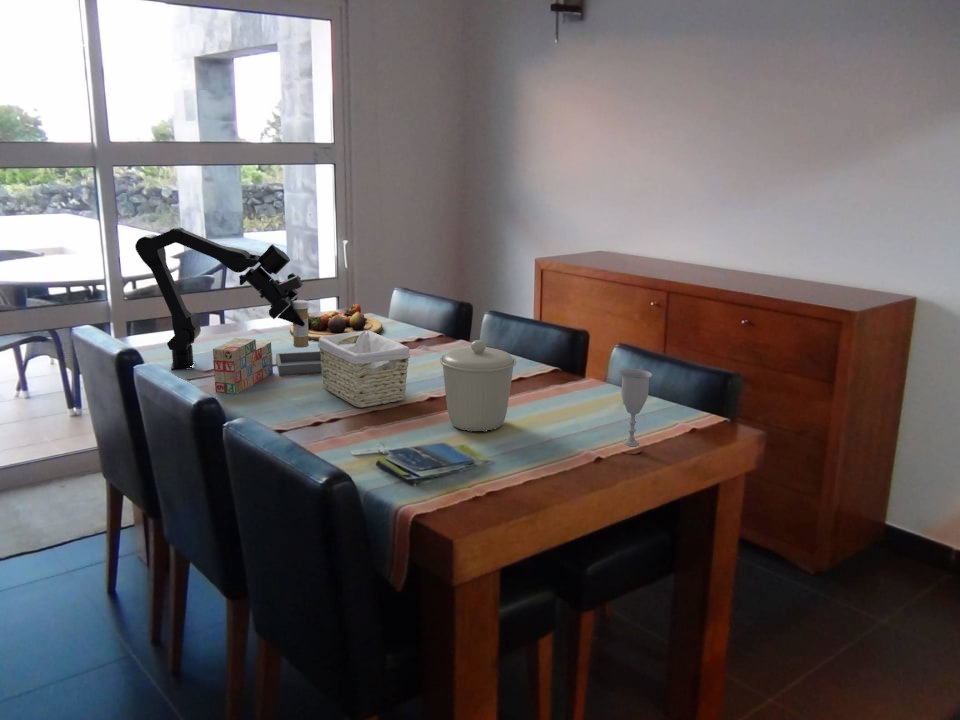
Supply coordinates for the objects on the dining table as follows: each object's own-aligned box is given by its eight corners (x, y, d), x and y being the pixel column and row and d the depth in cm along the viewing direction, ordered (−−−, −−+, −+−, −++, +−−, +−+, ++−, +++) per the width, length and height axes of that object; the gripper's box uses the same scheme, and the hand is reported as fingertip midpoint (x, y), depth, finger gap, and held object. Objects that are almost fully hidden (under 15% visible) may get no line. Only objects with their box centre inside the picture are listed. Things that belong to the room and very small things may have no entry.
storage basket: (317, 387, 231) (315, 335, 227) (370, 379, 240) (369, 328, 236) (356, 412, 212) (355, 355, 208) (412, 401, 221) (412, 347, 217)
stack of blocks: (253, 371, 245) (251, 330, 242) (273, 373, 244) (271, 331, 241) (215, 392, 225) (212, 348, 222) (236, 394, 224) (233, 349, 221)
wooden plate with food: (338, 317, 317) (336, 295, 315) (401, 329, 299) (400, 306, 296) (270, 334, 293) (268, 311, 290) (335, 348, 274) (334, 323, 272)
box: (276, 363, 254) (276, 353, 253) (323, 360, 258) (323, 351, 257) (279, 376, 241) (278, 365, 240) (328, 373, 245) (328, 363, 244)
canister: (442, 412, 213) (442, 330, 208) (514, 414, 213) (516, 332, 207) (436, 437, 196) (436, 349, 190) (514, 439, 195) (517, 351, 190)
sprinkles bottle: (293, 344, 250) (292, 299, 247) (309, 344, 251) (308, 299, 247) (292, 348, 246) (291, 302, 242) (308, 348, 246) (307, 302, 243)
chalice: (611, 444, 193) (616, 368, 188) (641, 444, 194) (646, 368, 189) (619, 456, 186) (624, 378, 181) (649, 456, 187) (655, 378, 182)
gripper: (279, 271, 233) (320, 311, 237) (290, 261, 251) (328, 298, 254) (251, 298, 234) (292, 338, 238) (264, 286, 252) (302, 323, 256)
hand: (305, 323), depth 247 cm, fingers closed on sprinkles bottle, 4 cm apart
